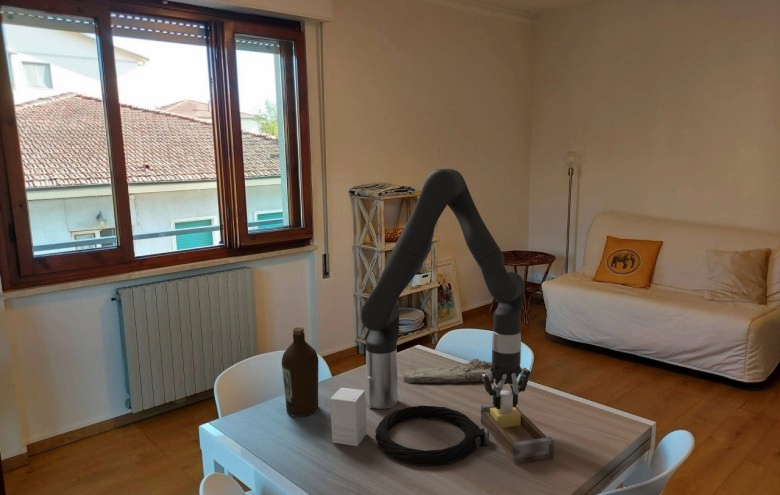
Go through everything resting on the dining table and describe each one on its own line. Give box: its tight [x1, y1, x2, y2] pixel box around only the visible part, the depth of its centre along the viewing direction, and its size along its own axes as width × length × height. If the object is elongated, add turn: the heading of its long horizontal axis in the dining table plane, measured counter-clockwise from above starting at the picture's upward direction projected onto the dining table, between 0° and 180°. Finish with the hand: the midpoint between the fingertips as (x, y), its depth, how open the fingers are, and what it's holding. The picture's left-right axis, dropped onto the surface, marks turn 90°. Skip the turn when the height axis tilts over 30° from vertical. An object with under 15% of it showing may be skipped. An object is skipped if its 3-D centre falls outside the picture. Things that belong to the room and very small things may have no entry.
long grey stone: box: [403, 358, 495, 384], centre depth 187 cm, size 35×5×10 cm
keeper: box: [490, 389, 521, 428], centre depth 153 cm, size 7×5×8 cm
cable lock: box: [374, 405, 490, 466], centre depth 149 cm, size 28×4×30 cm
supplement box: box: [329, 387, 368, 447], centre depth 149 cm, size 7×7×13 cm
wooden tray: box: [480, 403, 555, 465], centre depth 147 cm, size 10×22×5 cm, turn 13°
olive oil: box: [281, 327, 319, 418], centre depth 164 cm, size 11×11×25 cm
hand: (505, 406), depth 152 cm, fingers closed on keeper, 4 cm apart
